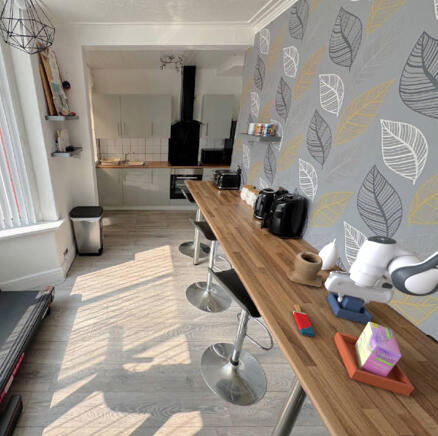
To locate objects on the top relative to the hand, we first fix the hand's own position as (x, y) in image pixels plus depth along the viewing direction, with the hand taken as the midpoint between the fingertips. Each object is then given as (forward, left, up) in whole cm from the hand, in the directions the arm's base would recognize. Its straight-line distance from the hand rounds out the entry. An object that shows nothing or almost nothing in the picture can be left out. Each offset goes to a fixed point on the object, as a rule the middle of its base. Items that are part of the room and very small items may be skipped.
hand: (349, 303), depth 94 cm
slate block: (0, 0, -2) cm, 2 cm away
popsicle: (+19, +13, -4) cm, 23 cm away
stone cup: (+12, -14, -4) cm, 19 cm away
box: (+3, +25, -3) cm, 26 cm away
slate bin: (0, 0, -4) cm, 4 cm away
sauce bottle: (0, -30, -4) cm, 31 cm away
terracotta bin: (+3, +25, -4) cm, 26 cm away
